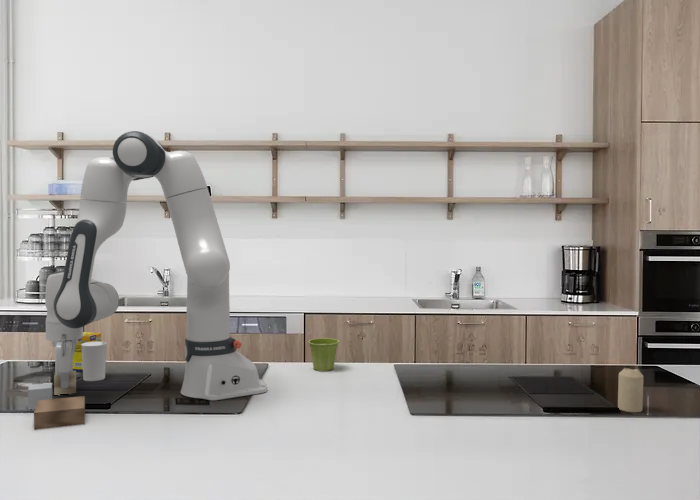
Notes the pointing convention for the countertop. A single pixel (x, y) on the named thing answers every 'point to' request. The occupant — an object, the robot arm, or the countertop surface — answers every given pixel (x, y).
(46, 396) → the grey block
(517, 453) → the countertop surface
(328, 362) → the plant pot
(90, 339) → the supplement box
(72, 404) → the walnut block
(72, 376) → the ash block
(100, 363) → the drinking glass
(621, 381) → the beige jar
